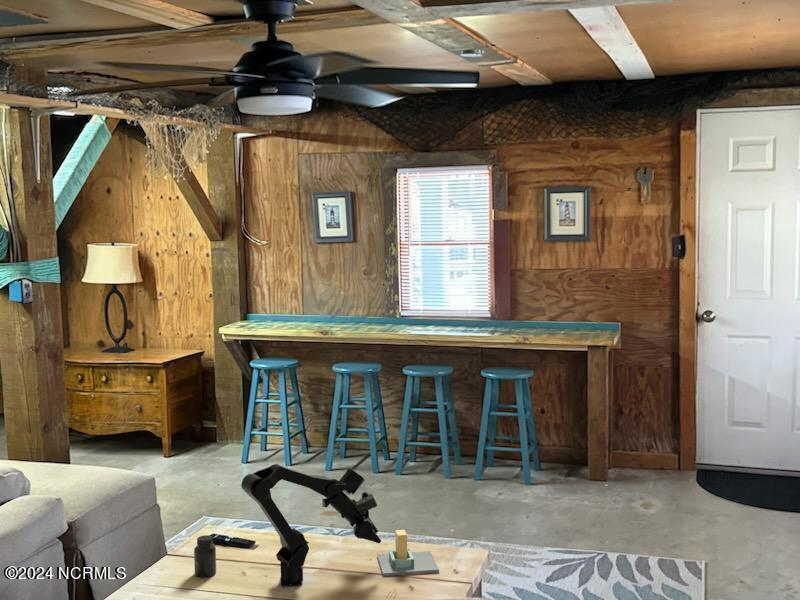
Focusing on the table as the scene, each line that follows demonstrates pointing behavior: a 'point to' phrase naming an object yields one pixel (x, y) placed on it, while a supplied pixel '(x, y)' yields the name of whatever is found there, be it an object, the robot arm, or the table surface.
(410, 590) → the table surface
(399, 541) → the block
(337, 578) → the table surface
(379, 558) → the plate
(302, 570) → the robot arm
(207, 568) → the supplement bottle
